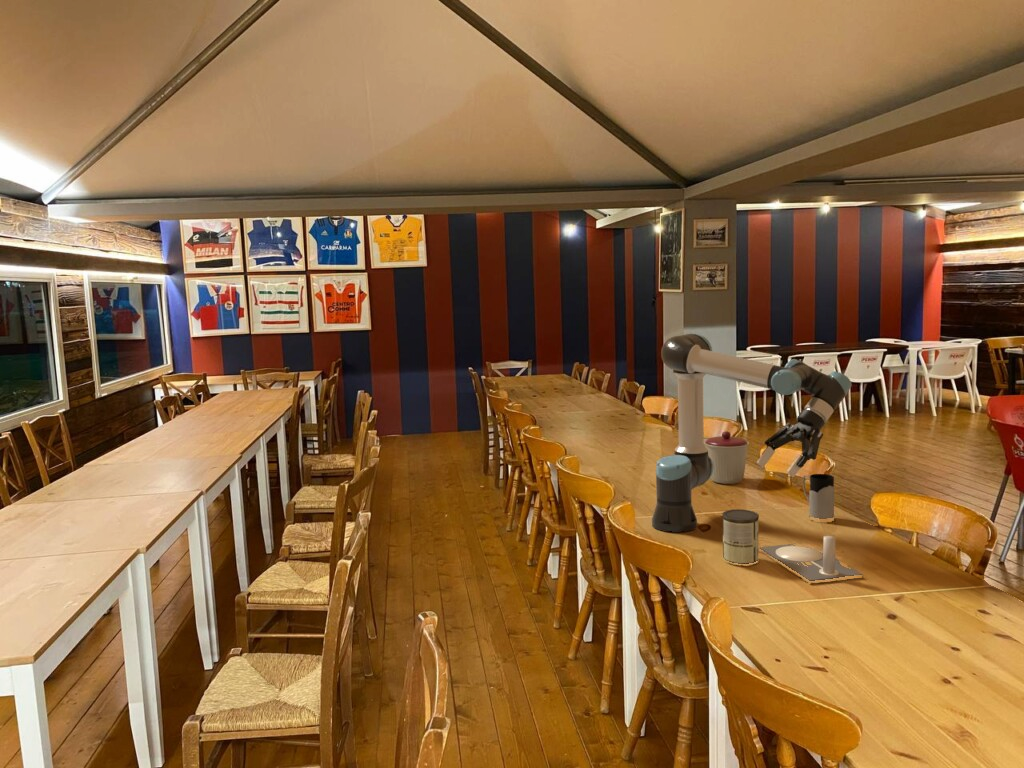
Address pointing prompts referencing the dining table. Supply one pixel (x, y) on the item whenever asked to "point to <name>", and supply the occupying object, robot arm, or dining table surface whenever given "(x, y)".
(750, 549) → the coffee can
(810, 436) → the robot arm
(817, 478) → the grey and black mug
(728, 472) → the canister
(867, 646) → the dining table surface
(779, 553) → the pegged base plate
